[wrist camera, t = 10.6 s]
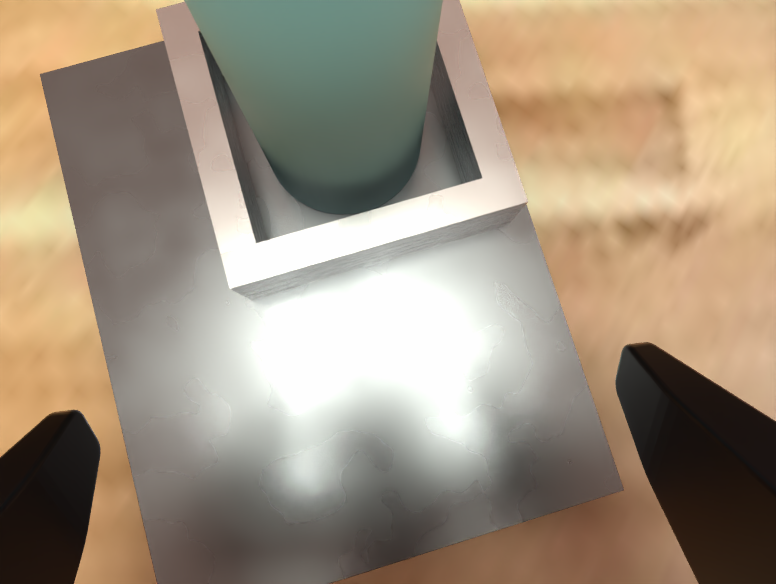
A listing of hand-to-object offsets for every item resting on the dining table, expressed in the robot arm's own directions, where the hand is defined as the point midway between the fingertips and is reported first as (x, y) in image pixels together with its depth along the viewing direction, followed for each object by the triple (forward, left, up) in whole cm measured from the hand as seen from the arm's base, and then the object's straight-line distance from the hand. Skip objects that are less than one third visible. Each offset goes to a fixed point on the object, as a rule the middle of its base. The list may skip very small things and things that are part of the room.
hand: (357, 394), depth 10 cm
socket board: (+4, +1, -10) cm, 10 cm away
